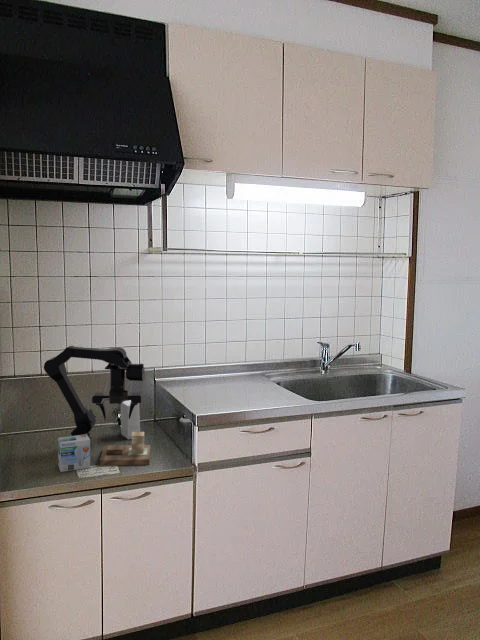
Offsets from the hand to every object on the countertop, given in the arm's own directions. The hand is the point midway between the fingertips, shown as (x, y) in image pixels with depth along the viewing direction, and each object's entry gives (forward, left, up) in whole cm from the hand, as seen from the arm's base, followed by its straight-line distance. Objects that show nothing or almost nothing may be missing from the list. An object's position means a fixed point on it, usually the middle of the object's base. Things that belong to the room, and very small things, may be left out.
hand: (117, 419), depth 206 cm
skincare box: (+4, +17, -13) cm, 22 cm away
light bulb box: (-14, -15, -13) cm, 24 cm away
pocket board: (+4, -7, -13) cm, 15 cm away
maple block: (+8, -7, -11) cm, 15 cm away
